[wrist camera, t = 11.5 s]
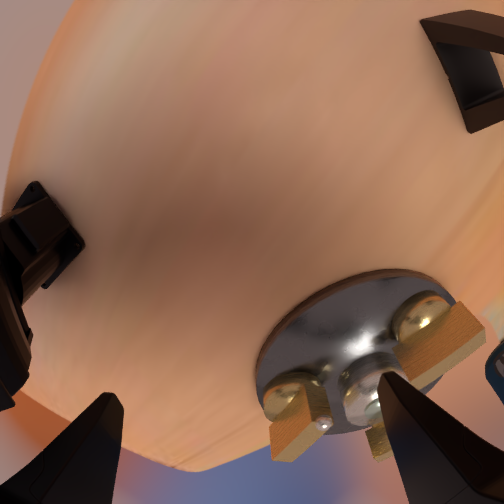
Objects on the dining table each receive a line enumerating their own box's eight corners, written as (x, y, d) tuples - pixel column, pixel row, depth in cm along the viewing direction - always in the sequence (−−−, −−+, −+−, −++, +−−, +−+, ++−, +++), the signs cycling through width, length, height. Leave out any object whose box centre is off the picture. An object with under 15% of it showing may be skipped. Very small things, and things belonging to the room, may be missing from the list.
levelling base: (317, 441, 31) (326, 488, 24) (207, 354, 23) (199, 424, 17) (463, 359, 26) (491, 401, 20) (426, 219, 19) (485, 261, 13)
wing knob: (300, 414, 25) (309, 468, 19) (250, 406, 24) (253, 464, 19) (339, 367, 22) (359, 426, 17) (284, 355, 21) (295, 421, 16)
